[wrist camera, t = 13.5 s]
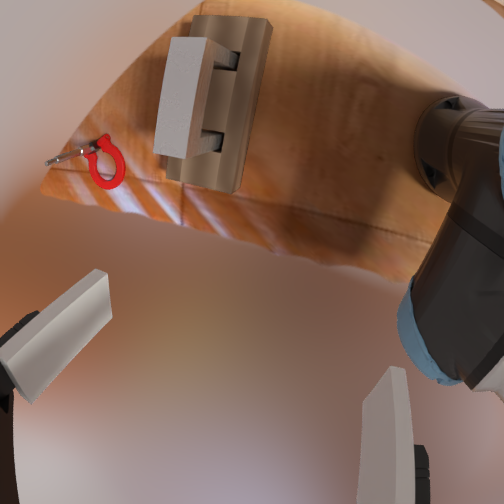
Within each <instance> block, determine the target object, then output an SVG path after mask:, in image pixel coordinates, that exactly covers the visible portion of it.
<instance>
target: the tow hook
mask: <svg viewBox="0 0 504 504" xmlns="http://www.w3.org/2000/svg"><path fill="white" fill-rule="evenodd" d="M100 148H101V149H102V151H103V152H107V153H109V154H110V155H112V157H113V158H114V160H115V162H116V167H117V171H116V175H115V177H114V179H112V180H111V181H107V180H104V179H103V178H102V177H101V176H100V175H99V173H98V171H97V165H96V163H97V155H96V153H95V152H97V151H98V150H99V149H100ZM83 155H84V157H85V158H87V159H88V161H89V171H90V174H91V177H92V178H93V180H94V182H95V183H96V184H97V185H98V186H99V187H101V188H103V189H108V190H110V189H113V188H116V187H117V186H118V185H120V184H121V182H122V181H123V178H124V176H125V161H124V158H123V156H122V154H121V152H120V151H119V150H118V148H117V147H115V146H114V145H112V144H111V142H110V136H109V135H108V134H105V135H104V136H102V137H101V138H100V139H99V140H96V141H93V142H90V143H89V144H88V145H84V146H81V147H79V148H78V149H76V150H73V151H70V152H67V153H64V154H61V155H58V156H56V157H54V159H51V160H48V161H46V162H45V165H46V166H49V165H51V164H54V163H55V164H57V163H60V162H63V161H65V160H68V159H71V158H74V157H77V156H83Z"/></svg>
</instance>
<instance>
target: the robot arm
mask: <svg viewBox="0 0 504 504" xmlns="http://www.w3.org/2000/svg"><path fill="white" fill-rule="evenodd" d="M414 155H415V160H416V164H417V167H418V170H419V172H420V174H421V176H422V178H423V179H424V181H425V182H426V184H427V185H428V186H429V187H430V188H431V190H433V191H434V192H435V193H436V194H437V195H439V196H440V197H441V198H442V199H444V200H446V201H447V202H449V203H451V206H450V208H449V210H448V212H447V214H446V216H445V218H444V221H443V223H442V225H441V227H440V229H439V231H438V233H437V235H436V237H435V239H434V241H433V243H432V245H431V247H430V249H429V251H428V253H427V254H426V256H425V258H424V260H423V262H422V264H421V265H420V267H419V269H418V271H417V272H416V273H415V275H414V276H413V277H412V278H411V280H410V283H409V286H408V290H407V292H406V294H405V295H404V297H403V299H402V301H401V303H400V305H399V308H398V312H397V319H398V321H397V329H398V334H399V337H400V340H401V343H402V345H403V347H404V349H405V351H406V353H407V355H408V356H409V357H410V359H411V361H412V362H413V363H414V365H415V366H416V367H417V368H418V369H419V370H420V371H421V372H422V373H423V374H424V375H425V376H426V377H428V378H429V379H431V380H434V379H436V380H437V382H438V383H439V384H441V385H445V386H452V385H456V384H458V383H461V382H465V384H466V385H467V386H468V387H469V388H470V389H471V390H472V392H484V391H491V392H495V393H496V395H497V396H498V397H499V398H500V400H501V401H502V402H503V403H504V109H489V108H488V107H486V106H485V105H484V104H482V103H480V102H479V101H477V100H474V99H472V98H468V97H464V96H453V97H446V98H442V99H440V100H437V101H436V102H434V103H433V104H431V105H430V106H429V107H428V108H427V109H426V110H425V111H424V112H423V114H422V115H421V117H420V119H419V121H418V124H417V126H416V130H415V135H414ZM111 318H112V310H111V302H110V293H109V284H108V274H107V273H105V272H103V271H101V270H98V269H94V270H93V271H92V272H90V273H89V274H88V275H87V276H85V277H84V278H83V279H81V280H80V281H79V282H78V283H76V284H75V285H74V286H73V287H71V288H70V289H69V290H67V291H66V292H65V293H64V294H62V295H61V296H60V297H59V298H57V299H56V300H55V301H54V302H53V303H51V304H50V305H49V306H48V307H46V308H45V309H44V310H43V311H42V312H39V311H34V312H32V313H30V314H27V315H26V316H25V317H24V318H22V319H21V320H20V321H19V323H17V324H15V325H14V326H13V328H11V329H10V330H8V331H7V332H6V333H5V334H4V335H3V336H2V337H1V338H0V504H20V503H19V497H18V490H17V483H16V475H15V463H14V447H13V401H14V393H13V389H14V388H15V387H16V389H17V391H18V392H19V394H20V395H21V396H22V397H23V398H24V399H25V400H27V401H28V402H29V403H30V404H32V403H33V402H34V401H35V400H36V399H37V398H38V397H39V395H40V394H41V393H42V392H43V391H44V390H45V389H46V388H47V386H48V385H49V384H50V383H51V382H52V381H53V380H54V379H55V377H56V376H57V375H58V374H59V373H60V372H61V371H62V370H63V369H64V368H65V367H66V365H67V364H68V363H69V362H70V361H71V360H72V359H73V358H74V357H75V356H76V355H77V354H78V353H79V351H80V350H81V349H82V348H83V347H84V346H85V345H86V344H87V343H88V342H89V341H90V340H91V339H92V338H93V337H94V336H95V335H96V334H97V333H98V332H99V330H101V329H102V328H103V326H104V325H105V324H106V323H107V322H108V321H109V320H110V319H111ZM362 417H363V418H362V441H361V458H360V471H359V482H358V491H357V500H356V504H430V480H429V477H430V473H429V470H428V469H429V457H428V455H427V452H426V450H425V447H424V446H423V445H414V443H413V429H412V419H411V410H410V400H409V393H408V385H407V378H406V372H405V369H403V368H399V367H394V366H390V367H389V368H388V370H387V371H386V372H385V374H384V375H383V377H382V378H381V379H380V381H379V382H378V383H377V385H376V386H375V387H374V389H373V390H372V391H371V393H370V394H369V395H368V396H367V397H366V399H365V400H364V401H363V414H362Z"/></svg>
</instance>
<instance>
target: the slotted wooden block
mask: <svg viewBox="0 0 504 504" xmlns="http://www.w3.org/2000/svg"><path fill="white" fill-rule="evenodd" d="M272 31H273V27H272V25H271V24H270V22H269V21H268V20H267V19H263V18H253V17H240V16H219V15H194V16H193V20H192V24H191V28H190V33H189V37H207V38H209V39H211V40H213V41H214V42H216V43H218V44H220V45H221V46H223V47H225V48H227V49H228V50H230V51H232V52H233V53H235V54H237V55H238V56H240V59H239V64H238V68H237V72H235V71H227V70H218V69H213V70H212V75H211V80H210V85H209V90H208V95H207V101H206V106H205V112H204V118H203V124H202V129H208V130H213V131H219V132H224V133H225V135H224V140H223V146H222V148H220V149H216V150H213V151H210V152H206V153H203V154H200V155H197V156H194V157H191V158H187V159H182V158H177V157H172V156H168V163H167V172H166V178H167V179H171V180H175V181H180V182H184V183H188V184H192V185H196V186H200V187H205V188H209V189H213V190H217V191H221V192H224V193H228V194H232V193H233V192H235V191H236V190H237V189H239V188H240V185H241V180H242V174H243V169H244V164H245V159H246V154H247V149H248V144H249V139H250V134H251V129H252V124H253V119H254V114H255V109H256V104H257V99H258V95H259V90H260V85H261V81H262V76H263V71H264V67H265V62H266V57H267V53H268V48H269V44H270V39H271V35H272Z"/></svg>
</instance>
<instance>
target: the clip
mask: <svg viewBox="0 0 504 504" xmlns="http://www.w3.org/2000/svg"><path fill="white" fill-rule="evenodd" d="M239 59H240V56H238V55H237V54H235V53H233V52H232V51H230V50H228V49H227V48H225V47H223V46H221V45H220V44H218V43H216V42H214V41H213V40H211V39H209V38H207V37H172V39H171V43H170V48H169V53H168V58H167V63H166V68H165V73H164V79H163V84H162V90H161V96H160V103H159V109H158V116H157V124H156V131H155V140H154V149H153V153H156V154H161V155H166V156H172V157H177V158H182V159H187V158H191V157H194V156H197V155H200V154H203V153H206V152H210V151H213V150H216V149H220V148H222V146H223V140H224V135H225V133H224V132H219V131H213V130H208V129H202V124H203V118H204V112H205V106H206V101H207V95H208V90H209V85H210V80H211V75H212V70H213V69H218V70H227V71H236V72H237V68H238V64H239Z"/></svg>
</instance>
